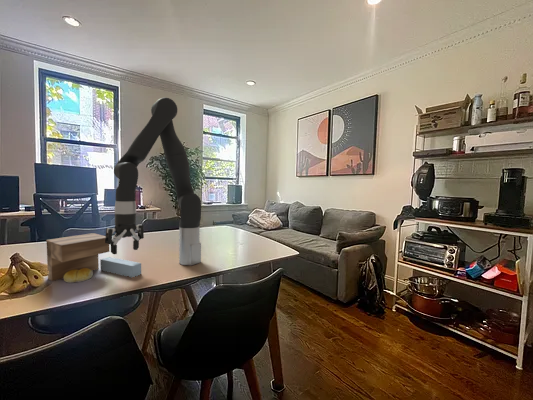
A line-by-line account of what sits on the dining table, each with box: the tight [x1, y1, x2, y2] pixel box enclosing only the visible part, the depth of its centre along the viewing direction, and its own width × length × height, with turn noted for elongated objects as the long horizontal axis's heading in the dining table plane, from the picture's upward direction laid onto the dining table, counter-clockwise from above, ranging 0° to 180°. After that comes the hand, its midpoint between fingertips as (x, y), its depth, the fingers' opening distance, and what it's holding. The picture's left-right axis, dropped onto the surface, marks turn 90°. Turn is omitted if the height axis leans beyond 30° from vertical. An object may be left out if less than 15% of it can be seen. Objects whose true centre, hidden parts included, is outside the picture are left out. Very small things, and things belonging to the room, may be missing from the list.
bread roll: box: [62, 268, 94, 284], centre depth 96 cm, size 8×9×4 cm
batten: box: [99, 256, 142, 278], centre depth 104 cm, size 19×4×5 cm, turn 68°
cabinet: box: [45, 232, 110, 282], centre depth 99 cm, size 13×16×15 cm
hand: (125, 251), depth 101 cm, fingers open, 8 cm apart
